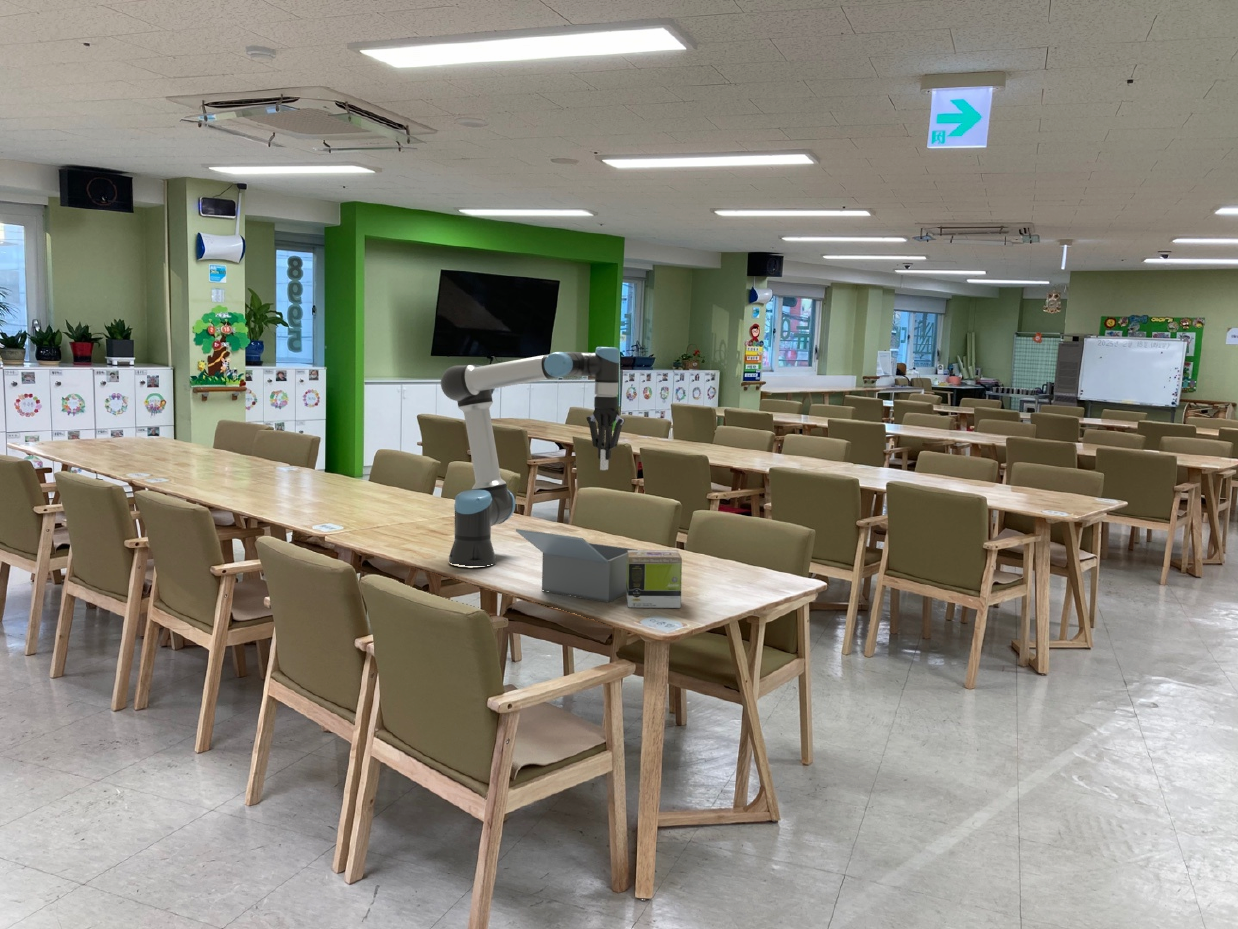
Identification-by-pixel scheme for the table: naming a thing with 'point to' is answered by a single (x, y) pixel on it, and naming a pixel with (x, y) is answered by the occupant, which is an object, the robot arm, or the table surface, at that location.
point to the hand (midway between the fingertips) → (604, 469)
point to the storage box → (587, 574)
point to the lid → (562, 545)
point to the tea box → (654, 578)
